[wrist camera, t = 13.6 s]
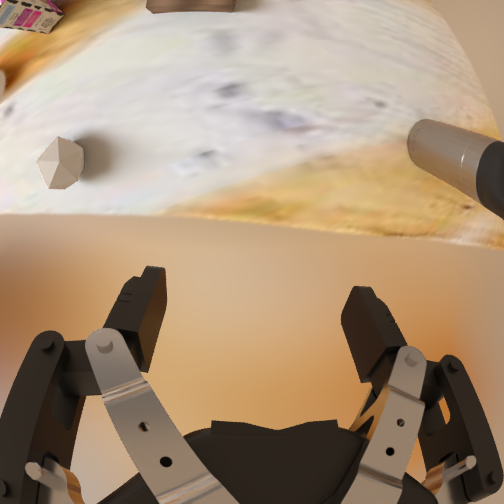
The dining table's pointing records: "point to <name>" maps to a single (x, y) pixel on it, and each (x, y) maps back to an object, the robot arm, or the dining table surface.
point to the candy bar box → (29, 15)
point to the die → (61, 163)
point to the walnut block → (190, 5)
